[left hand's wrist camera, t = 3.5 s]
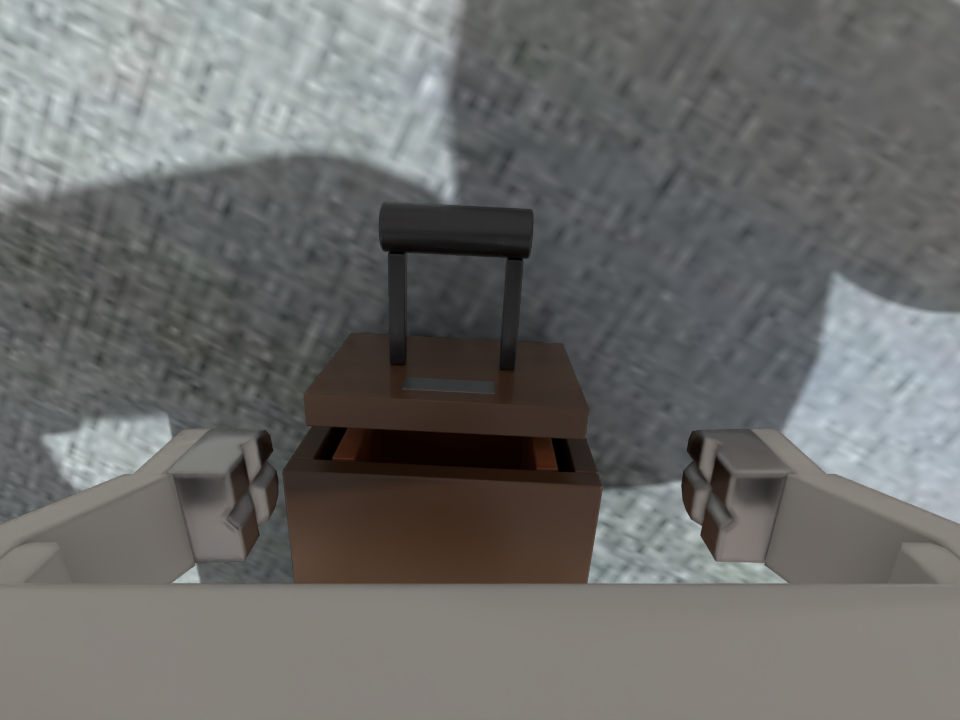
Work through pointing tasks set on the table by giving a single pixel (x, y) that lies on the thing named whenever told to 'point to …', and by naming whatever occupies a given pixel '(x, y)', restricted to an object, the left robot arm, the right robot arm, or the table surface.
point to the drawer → (450, 363)
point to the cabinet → (439, 519)
